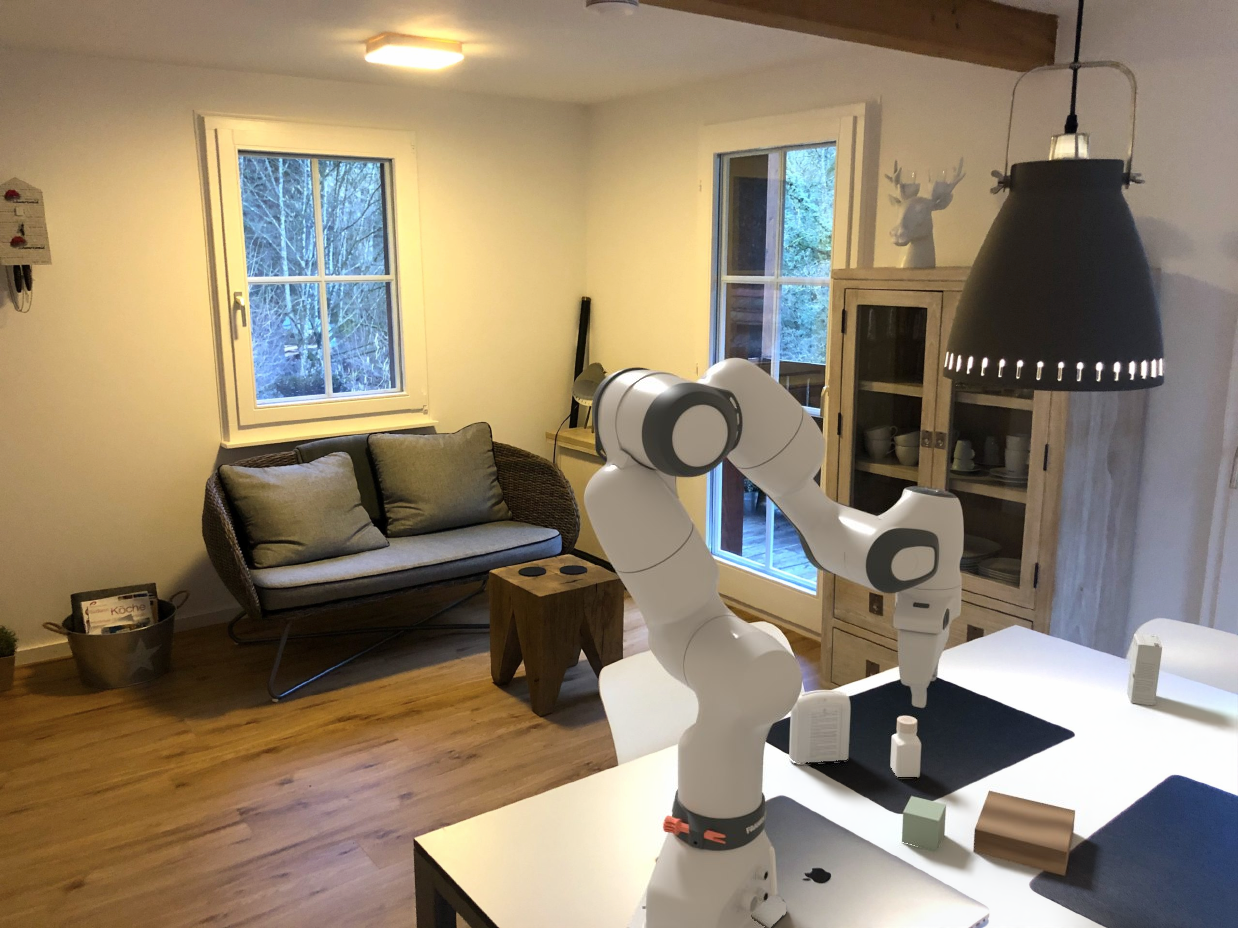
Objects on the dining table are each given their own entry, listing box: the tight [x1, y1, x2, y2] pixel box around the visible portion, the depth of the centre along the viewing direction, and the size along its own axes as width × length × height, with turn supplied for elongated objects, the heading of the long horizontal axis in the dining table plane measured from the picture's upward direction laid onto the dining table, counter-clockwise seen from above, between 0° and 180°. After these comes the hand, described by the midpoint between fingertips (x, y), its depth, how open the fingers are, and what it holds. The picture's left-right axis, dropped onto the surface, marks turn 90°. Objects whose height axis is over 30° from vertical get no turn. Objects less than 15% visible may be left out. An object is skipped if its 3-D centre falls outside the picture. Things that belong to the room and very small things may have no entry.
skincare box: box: [1126, 633, 1163, 706], centre depth 188 cm, size 6×4×12 cm
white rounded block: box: [788, 689, 851, 763], centre depth 167 cm, size 10×4×12 cm, turn 98°
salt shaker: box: [889, 715, 922, 778], centre depth 162 cm, size 4×4×10 cm
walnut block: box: [973, 790, 1076, 876], centre depth 143 cm, size 12×12×4 cm
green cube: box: [901, 795, 947, 853], centre depth 144 cm, size 5×5×5 cm
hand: (925, 691), depth 141 cm, fingers open, 8 cm apart
